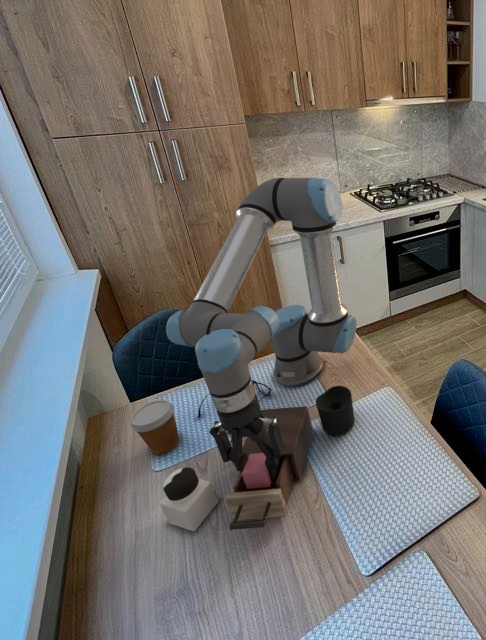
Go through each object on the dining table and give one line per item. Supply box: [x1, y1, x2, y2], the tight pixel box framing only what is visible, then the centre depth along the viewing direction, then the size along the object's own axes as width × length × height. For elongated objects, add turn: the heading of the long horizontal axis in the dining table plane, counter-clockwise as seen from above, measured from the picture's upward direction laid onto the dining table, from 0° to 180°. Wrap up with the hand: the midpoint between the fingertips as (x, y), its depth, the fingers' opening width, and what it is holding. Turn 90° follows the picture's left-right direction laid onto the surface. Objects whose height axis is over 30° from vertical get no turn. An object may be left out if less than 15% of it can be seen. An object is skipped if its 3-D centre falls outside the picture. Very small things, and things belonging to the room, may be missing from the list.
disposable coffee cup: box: [129, 399, 180, 455], centre depth 107 cm, size 10×10×12 cm
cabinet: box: [241, 405, 314, 482], centre depth 103 cm, size 15×13×10 cm
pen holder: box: [315, 385, 355, 438], centre depth 112 cm, size 9×9×10 cm
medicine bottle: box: [159, 466, 219, 532], centre depth 90 cm, size 7×7×12 cm
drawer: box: [224, 456, 295, 531], centre depth 92 cm, size 18×11×8 cm, turn 4°
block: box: [242, 453, 272, 489], centre depth 91 cm, size 5×5×5 cm
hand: (261, 477), depth 92 cm, fingers closed on block, 5 cm apart
